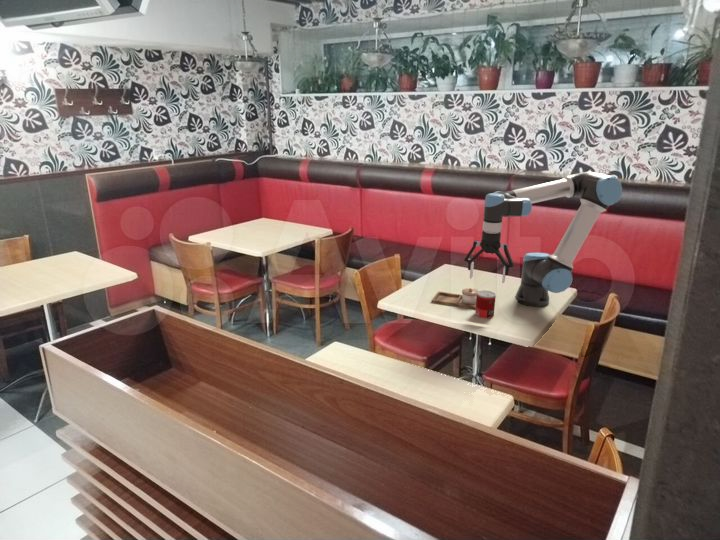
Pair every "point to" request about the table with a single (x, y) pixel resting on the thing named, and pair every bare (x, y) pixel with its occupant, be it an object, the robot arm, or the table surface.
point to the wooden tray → (450, 300)
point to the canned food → (485, 304)
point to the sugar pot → (469, 296)
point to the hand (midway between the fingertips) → (487, 279)
